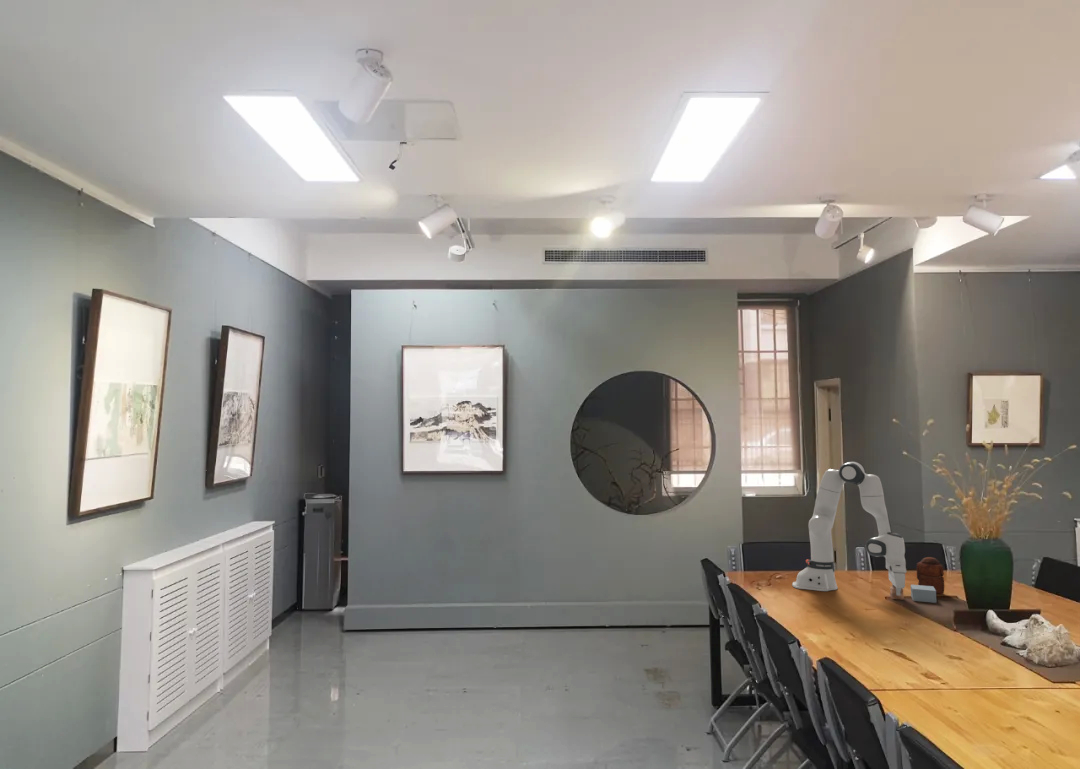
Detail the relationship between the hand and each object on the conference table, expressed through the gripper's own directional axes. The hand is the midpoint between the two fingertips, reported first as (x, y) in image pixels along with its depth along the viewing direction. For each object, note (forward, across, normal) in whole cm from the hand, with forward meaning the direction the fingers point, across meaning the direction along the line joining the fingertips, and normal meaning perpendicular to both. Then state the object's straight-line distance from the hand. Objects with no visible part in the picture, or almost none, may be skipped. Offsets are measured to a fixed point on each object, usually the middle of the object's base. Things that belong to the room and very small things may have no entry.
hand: (896, 593), depth 330 cm
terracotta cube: (+2, 0, 0) cm, 2 cm away
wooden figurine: (+2, -18, +19) cm, 26 cm away
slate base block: (+2, -1, +12) cm, 12 cm away
